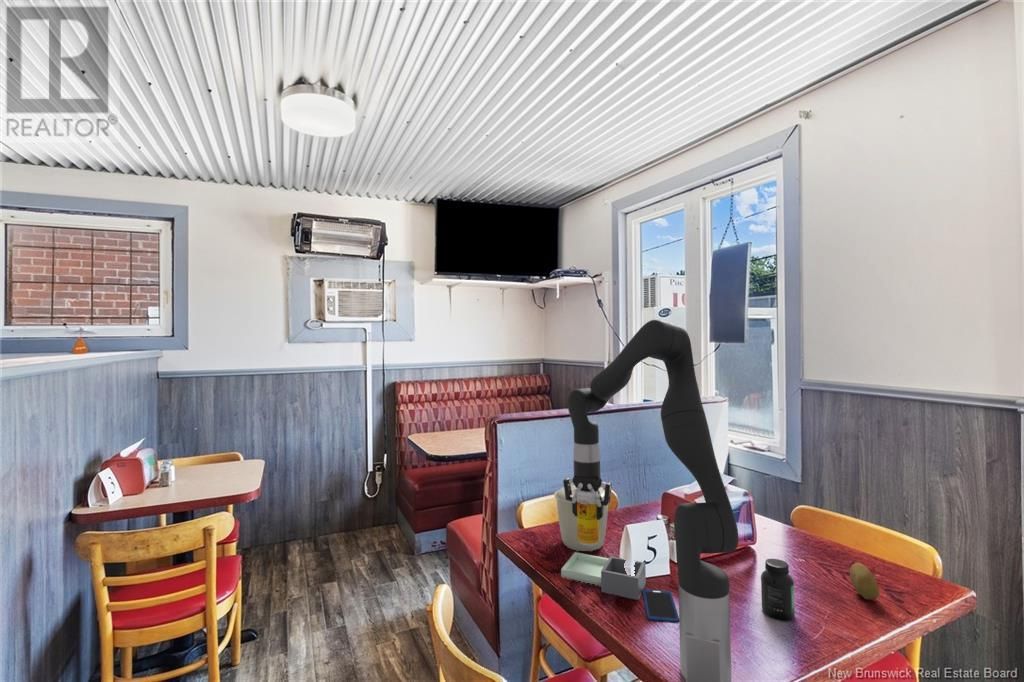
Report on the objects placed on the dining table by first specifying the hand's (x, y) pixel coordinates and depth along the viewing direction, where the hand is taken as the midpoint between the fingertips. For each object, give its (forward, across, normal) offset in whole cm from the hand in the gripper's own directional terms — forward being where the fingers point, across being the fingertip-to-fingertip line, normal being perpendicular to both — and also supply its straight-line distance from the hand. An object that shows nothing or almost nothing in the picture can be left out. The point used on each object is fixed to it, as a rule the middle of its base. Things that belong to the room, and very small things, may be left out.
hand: (587, 517), depth 134 cm
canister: (+16, -7, +17) cm, 24 cm away
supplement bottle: (+16, +47, -1) cm, 49 cm away
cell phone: (+16, +21, -9) cm, 28 cm away
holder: (+16, +11, -4) cm, 20 cm away
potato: (+16, +67, +16) cm, 71 cm away
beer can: (+7, 0, 0) cm, 7 cm away
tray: (+16, 0, 0) cm, 16 cm away
